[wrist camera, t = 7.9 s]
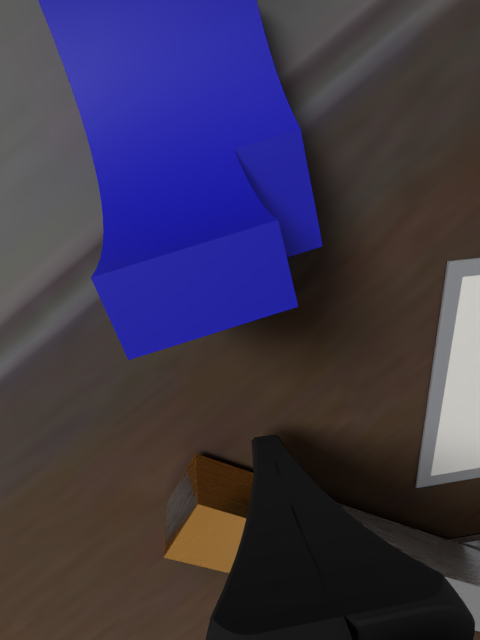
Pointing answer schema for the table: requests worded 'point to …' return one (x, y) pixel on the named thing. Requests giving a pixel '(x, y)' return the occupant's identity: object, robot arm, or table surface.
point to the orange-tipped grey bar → (231, 512)
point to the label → (454, 383)
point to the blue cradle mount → (187, 164)
